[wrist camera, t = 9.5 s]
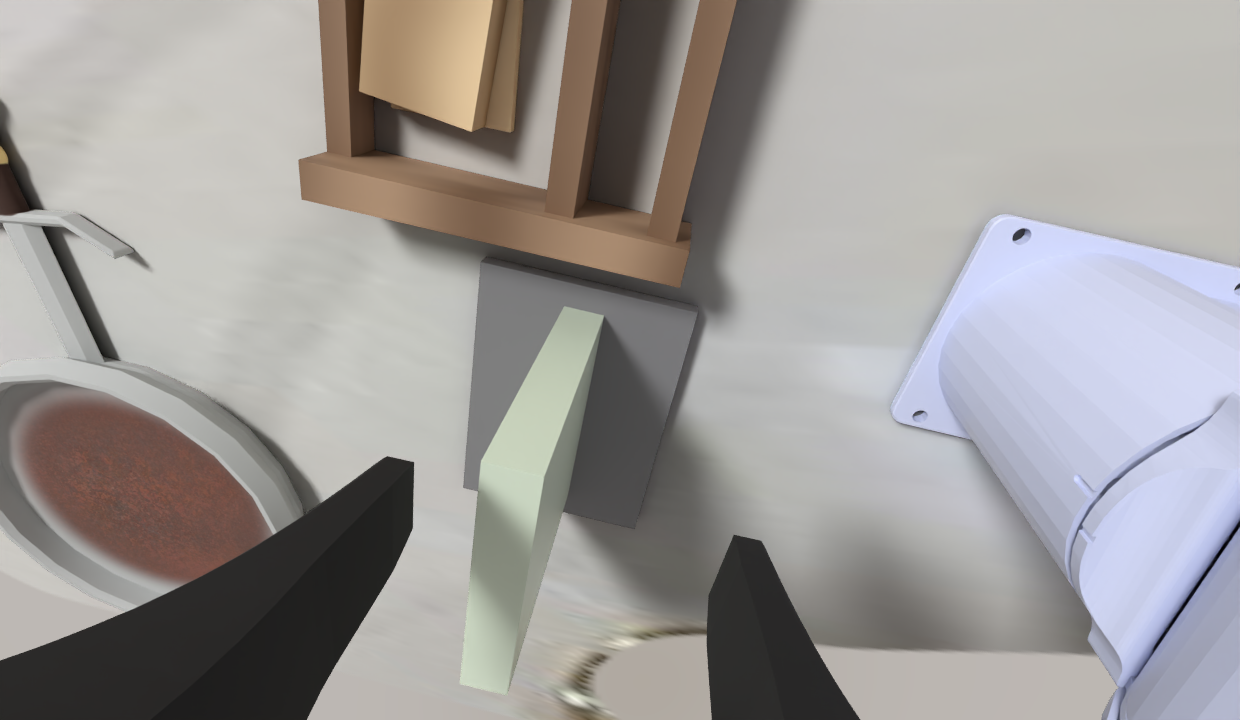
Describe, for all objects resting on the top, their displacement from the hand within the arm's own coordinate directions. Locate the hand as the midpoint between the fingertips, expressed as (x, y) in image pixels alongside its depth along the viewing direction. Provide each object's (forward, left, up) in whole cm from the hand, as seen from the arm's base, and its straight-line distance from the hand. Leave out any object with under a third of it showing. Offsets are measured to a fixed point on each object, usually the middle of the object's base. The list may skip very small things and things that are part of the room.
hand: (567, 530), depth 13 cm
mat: (+2, +4, -10) cm, 11 cm away
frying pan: (+23, +10, -11) cm, 27 cm away
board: (+2, +4, -10) cm, 11 cm away
